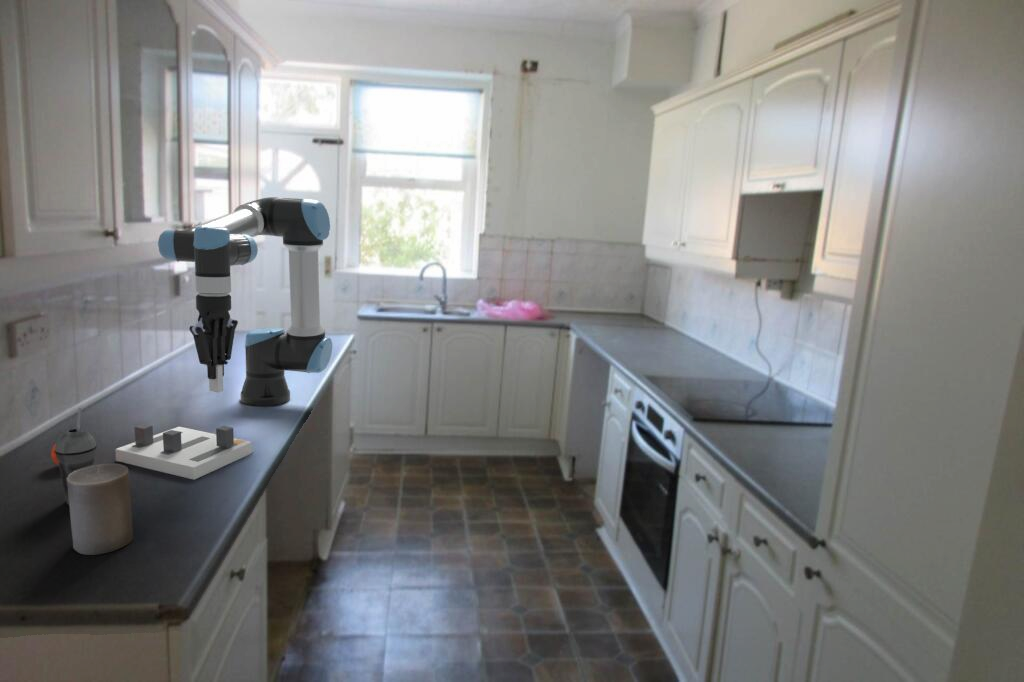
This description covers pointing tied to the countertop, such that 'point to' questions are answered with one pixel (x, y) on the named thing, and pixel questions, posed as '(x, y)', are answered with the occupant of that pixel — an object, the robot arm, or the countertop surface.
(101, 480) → the pillar candle
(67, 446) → the beverage cup
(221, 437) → the handle
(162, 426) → the countertop surface
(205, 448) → the breaker panel
